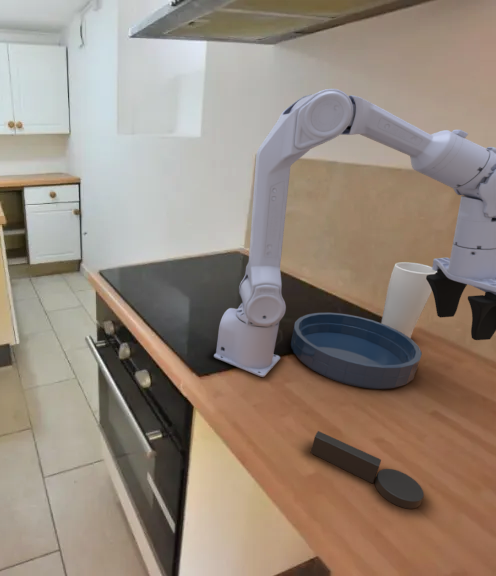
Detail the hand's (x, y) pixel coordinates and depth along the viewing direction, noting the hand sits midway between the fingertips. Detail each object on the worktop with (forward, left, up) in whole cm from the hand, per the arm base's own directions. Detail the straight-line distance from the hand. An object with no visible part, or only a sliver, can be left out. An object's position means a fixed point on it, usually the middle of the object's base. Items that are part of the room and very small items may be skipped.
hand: (462, 326), depth 60 cm
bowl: (-13, -3, -10) cm, 17 cm away
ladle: (-5, -31, -10) cm, 33 cm away
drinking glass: (-8, +12, -10) cm, 18 cm away
